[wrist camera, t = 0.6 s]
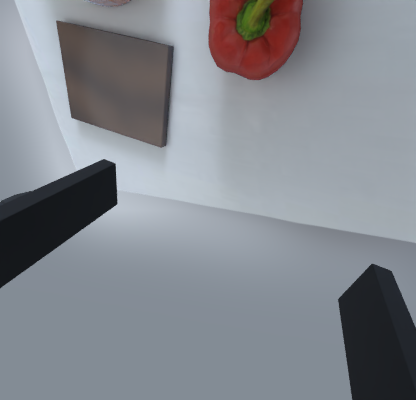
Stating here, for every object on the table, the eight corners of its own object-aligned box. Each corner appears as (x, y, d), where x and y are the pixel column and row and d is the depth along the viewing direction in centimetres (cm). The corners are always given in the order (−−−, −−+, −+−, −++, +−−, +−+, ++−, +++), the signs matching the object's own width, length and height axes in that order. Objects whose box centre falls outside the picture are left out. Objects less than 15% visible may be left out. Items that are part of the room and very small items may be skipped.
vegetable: (282, -57, 23) (271, -126, 15) (325, 37, 26) (336, 22, 18) (205, 26, 29) (168, 8, 21) (246, 96, 32) (226, 105, 23)
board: (64, 22, 36) (56, 20, 35) (173, 46, 32) (168, 45, 31) (77, 116, 44) (71, 117, 43) (165, 145, 40) (161, 147, 39)
